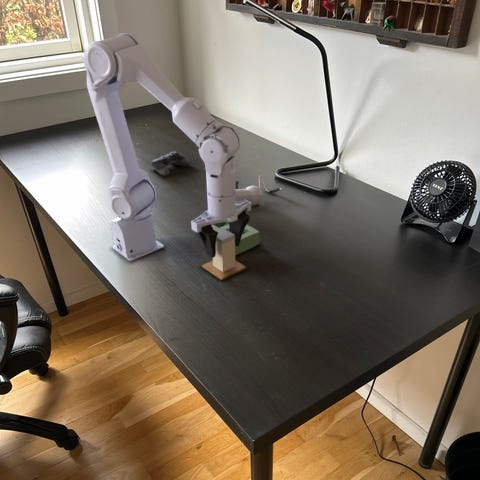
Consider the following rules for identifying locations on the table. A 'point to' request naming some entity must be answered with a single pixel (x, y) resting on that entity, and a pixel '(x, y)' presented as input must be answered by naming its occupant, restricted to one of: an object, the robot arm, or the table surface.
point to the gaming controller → (168, 162)
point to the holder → (247, 239)
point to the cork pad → (226, 273)
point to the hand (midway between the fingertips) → (223, 249)
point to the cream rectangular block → (224, 251)
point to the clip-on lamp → (252, 193)
